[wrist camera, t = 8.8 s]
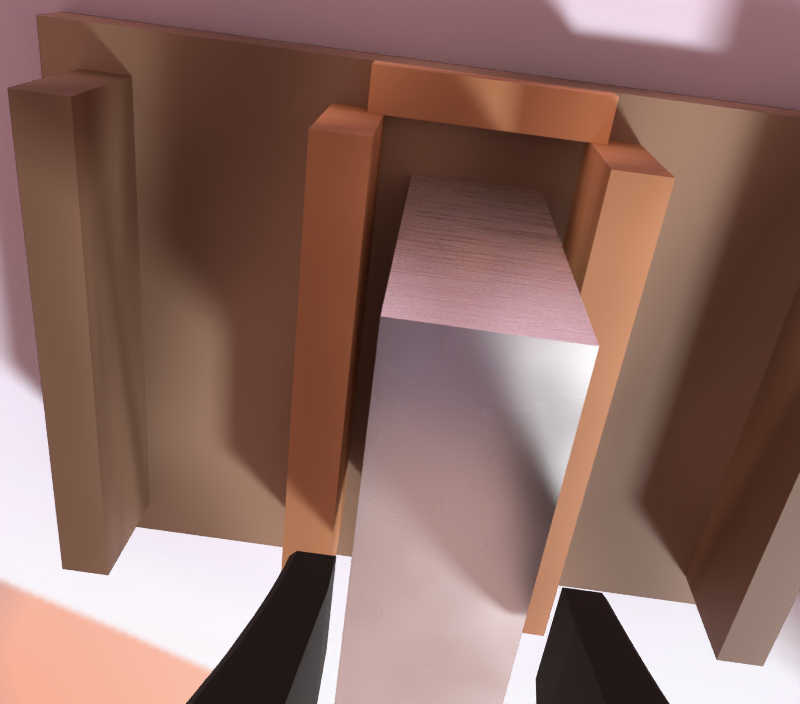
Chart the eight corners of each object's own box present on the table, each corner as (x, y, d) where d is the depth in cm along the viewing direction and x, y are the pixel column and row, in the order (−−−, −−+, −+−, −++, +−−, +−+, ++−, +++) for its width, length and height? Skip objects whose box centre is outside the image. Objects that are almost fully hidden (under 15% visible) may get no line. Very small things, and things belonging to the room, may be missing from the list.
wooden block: (476, 500, 22) (486, 765, 14) (371, 486, 22) (330, 743, 14) (541, 190, 17) (598, 346, 10) (411, 173, 17) (380, 315, 10)
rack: (924, 127, 17) (1052, 172, 14) (731, 582, 24) (781, 696, 20) (61, 12, 18) (-46, 24, 14) (100, 494, 24) (34, 592, 20)
